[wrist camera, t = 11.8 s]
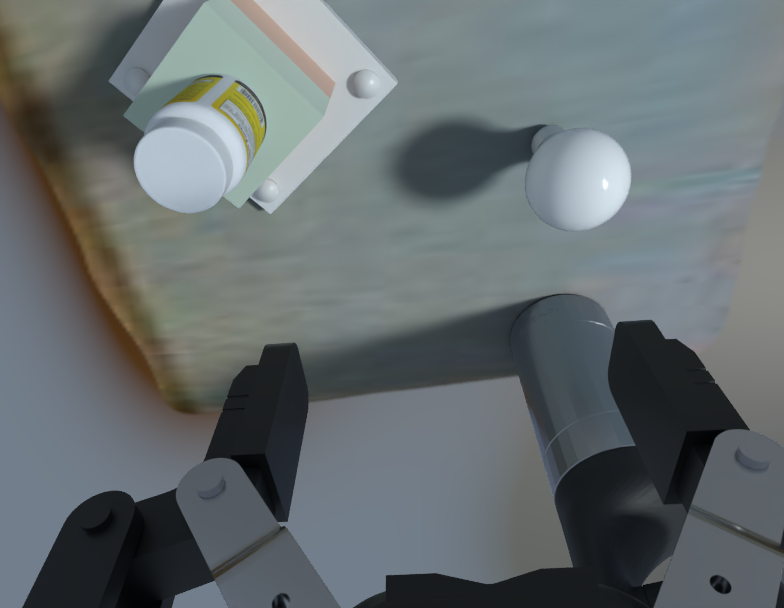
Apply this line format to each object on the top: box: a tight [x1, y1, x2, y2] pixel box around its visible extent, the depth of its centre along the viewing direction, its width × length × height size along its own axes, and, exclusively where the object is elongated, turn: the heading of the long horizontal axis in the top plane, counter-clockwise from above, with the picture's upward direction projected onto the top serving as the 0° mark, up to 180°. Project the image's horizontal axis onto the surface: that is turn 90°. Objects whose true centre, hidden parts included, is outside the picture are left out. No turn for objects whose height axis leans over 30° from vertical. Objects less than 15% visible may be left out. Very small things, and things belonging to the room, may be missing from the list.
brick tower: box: [109, 0, 398, 214], centre depth 34 cm, size 14×14×9 cm
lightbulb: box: [525, 125, 631, 232], centre depth 36 cm, size 6×6×11 cm
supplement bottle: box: [134, 74, 267, 213], centre depth 27 cm, size 5×5×8 cm
